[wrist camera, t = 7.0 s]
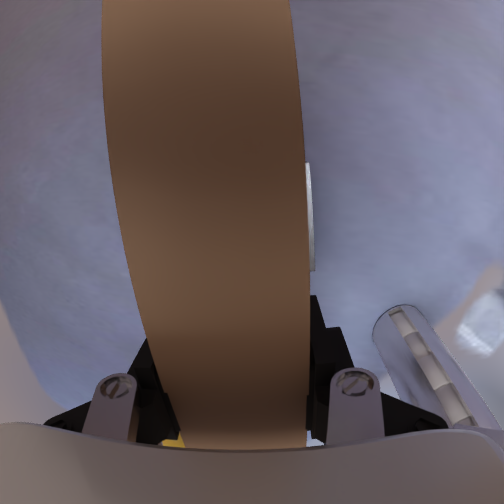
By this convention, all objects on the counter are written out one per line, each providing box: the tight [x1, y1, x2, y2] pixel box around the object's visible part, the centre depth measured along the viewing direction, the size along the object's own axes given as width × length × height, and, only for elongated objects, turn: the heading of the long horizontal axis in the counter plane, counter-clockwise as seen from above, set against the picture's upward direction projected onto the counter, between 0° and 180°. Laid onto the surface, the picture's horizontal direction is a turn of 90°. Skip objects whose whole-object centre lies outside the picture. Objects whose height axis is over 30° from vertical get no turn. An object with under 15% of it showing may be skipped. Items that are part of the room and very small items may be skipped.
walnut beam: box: [102, 0, 310, 450], centre depth 11 cm, size 24×4×5 cm, turn 5°
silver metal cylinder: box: [373, 305, 502, 430], centre depth 22 cm, size 6×6×25 cm
